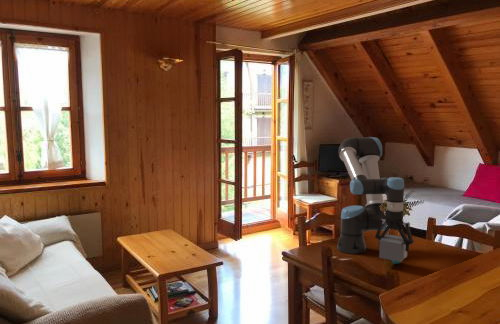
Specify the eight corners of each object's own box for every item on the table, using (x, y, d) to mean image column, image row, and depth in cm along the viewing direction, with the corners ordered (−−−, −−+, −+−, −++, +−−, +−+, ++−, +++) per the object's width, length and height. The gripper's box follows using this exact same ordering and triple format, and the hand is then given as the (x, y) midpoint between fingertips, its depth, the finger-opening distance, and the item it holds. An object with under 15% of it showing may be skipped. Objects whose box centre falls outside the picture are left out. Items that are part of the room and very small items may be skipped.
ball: (391, 250, 208) (392, 259, 209) (389, 256, 204) (389, 264, 206) (402, 252, 205) (402, 261, 207) (400, 257, 201) (400, 266, 203)
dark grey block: (386, 251, 210) (386, 234, 209) (407, 255, 204) (407, 237, 202) (379, 257, 202) (379, 240, 201) (400, 262, 196) (401, 243, 194)
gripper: (368, 208, 204) (367, 252, 206) (417, 214, 190) (415, 262, 193) (374, 205, 210) (373, 248, 212) (421, 211, 196) (420, 257, 199)
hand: (393, 255), depth 203 cm, fingers closed on dark grey block, 10 cm apart
